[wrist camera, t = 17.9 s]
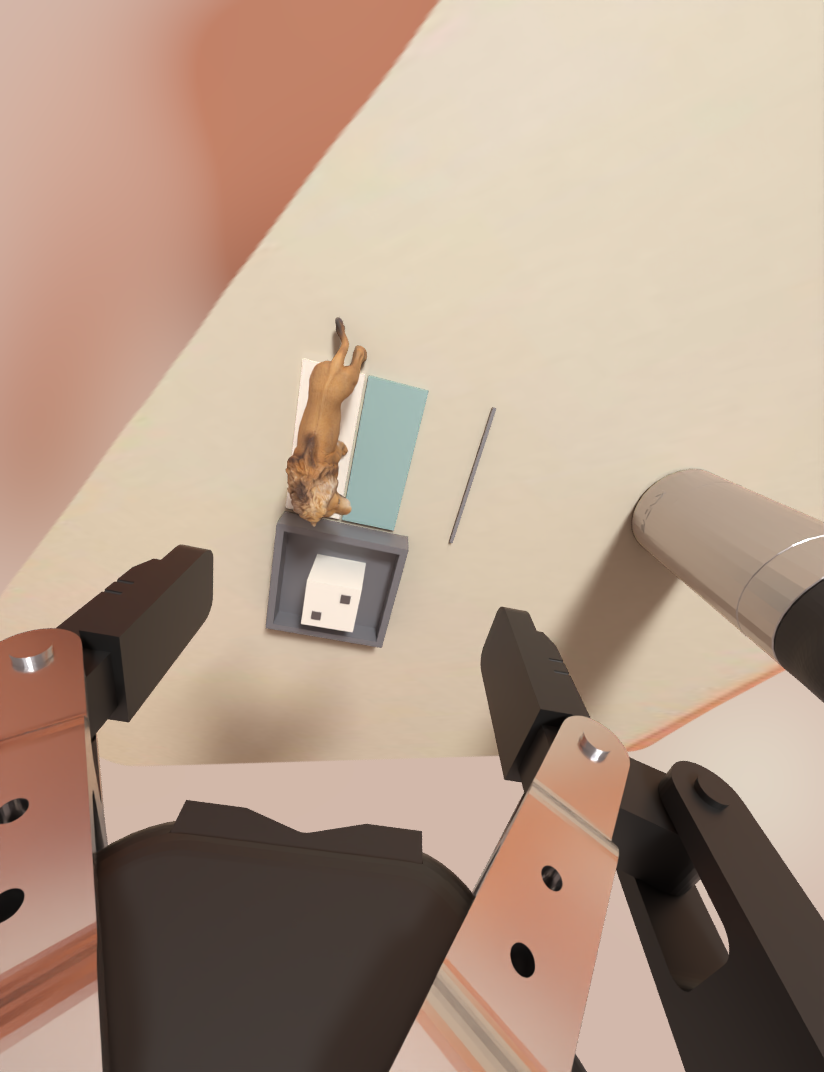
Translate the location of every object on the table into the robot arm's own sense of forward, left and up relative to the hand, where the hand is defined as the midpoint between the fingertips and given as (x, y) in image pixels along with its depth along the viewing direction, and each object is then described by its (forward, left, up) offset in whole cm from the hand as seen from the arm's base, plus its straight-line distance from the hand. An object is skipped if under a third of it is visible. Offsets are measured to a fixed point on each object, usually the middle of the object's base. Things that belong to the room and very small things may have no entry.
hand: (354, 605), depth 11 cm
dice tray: (+2, +17, -27) cm, 32 cm away
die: (+2, +17, -27) cm, 31 cm away
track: (0, +3, -27) cm, 27 cm away
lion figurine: (+4, +1, -27) cm, 27 cm away
